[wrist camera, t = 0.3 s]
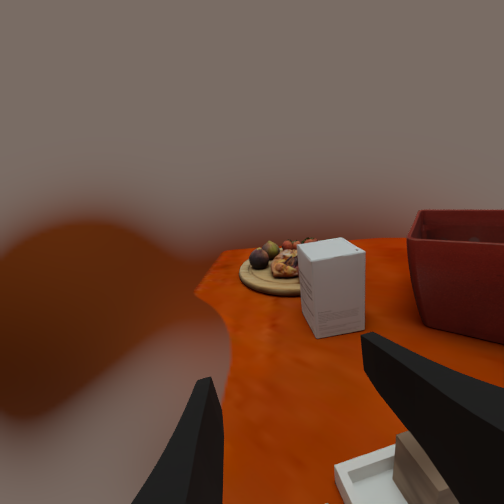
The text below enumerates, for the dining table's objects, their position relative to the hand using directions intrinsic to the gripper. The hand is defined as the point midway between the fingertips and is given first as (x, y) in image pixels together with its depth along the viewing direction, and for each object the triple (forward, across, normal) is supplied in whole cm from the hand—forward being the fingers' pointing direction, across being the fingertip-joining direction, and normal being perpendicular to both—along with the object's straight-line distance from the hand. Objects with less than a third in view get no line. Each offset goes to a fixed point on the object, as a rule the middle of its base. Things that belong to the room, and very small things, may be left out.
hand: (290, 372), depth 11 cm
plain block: (+4, -10, +20) cm, 23 cm away
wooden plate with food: (+56, -14, +19) cm, 61 cm away
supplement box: (+30, -14, +20) cm, 39 cm away
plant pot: (+24, -36, +22) cm, 48 cm away
